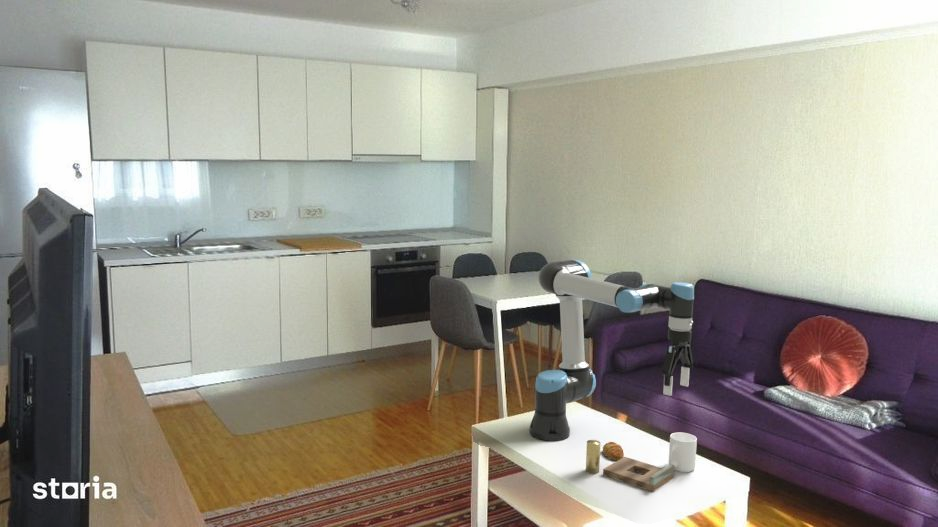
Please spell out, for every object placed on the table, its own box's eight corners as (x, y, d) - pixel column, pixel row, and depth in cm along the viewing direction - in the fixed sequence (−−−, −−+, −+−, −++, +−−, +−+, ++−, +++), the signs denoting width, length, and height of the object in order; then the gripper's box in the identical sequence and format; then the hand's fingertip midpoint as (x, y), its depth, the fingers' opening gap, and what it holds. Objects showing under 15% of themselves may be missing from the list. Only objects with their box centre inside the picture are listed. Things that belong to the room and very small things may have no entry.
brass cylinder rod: (583, 471, 236) (584, 442, 235) (590, 467, 239) (591, 438, 238) (594, 475, 233) (595, 445, 232) (601, 471, 236) (602, 442, 235)
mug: (657, 469, 239) (659, 438, 237) (677, 460, 246) (679, 430, 245) (679, 477, 232) (681, 446, 231) (700, 468, 240) (701, 437, 239)
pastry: (628, 461, 245) (628, 450, 245) (609, 462, 244) (609, 451, 244) (618, 450, 255) (619, 440, 254) (600, 451, 254) (600, 441, 253)
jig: (602, 474, 233) (603, 461, 233) (624, 462, 244) (625, 449, 243) (653, 491, 222) (654, 478, 221) (673, 477, 232) (674, 464, 231)
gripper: (674, 337, 227) (670, 401, 230) (705, 324, 246) (701, 384, 249) (653, 333, 232) (649, 396, 235) (684, 321, 251) (680, 379, 254)
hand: (676, 390), depth 242 cm, fingers open, 13 cm apart
